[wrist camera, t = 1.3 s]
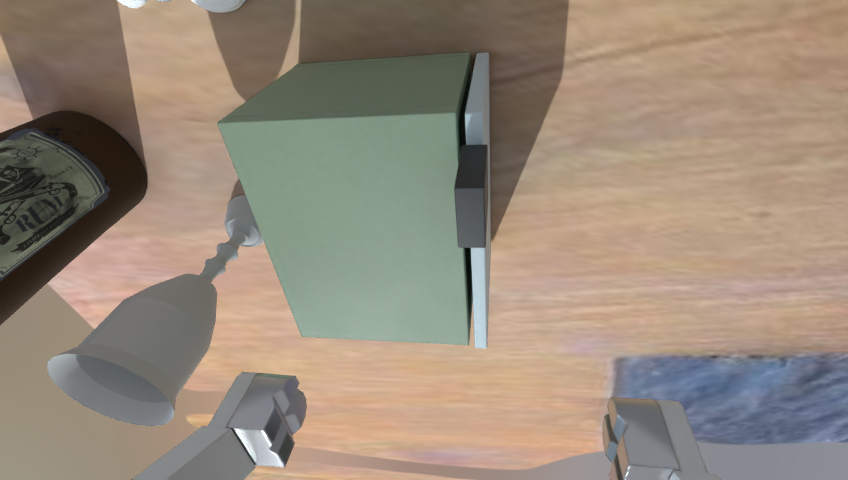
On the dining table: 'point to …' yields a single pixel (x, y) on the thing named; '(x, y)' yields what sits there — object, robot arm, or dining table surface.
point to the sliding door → (476, 194)
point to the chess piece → (218, 3)
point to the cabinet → (362, 194)
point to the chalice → (153, 338)
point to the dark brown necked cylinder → (58, 197)
